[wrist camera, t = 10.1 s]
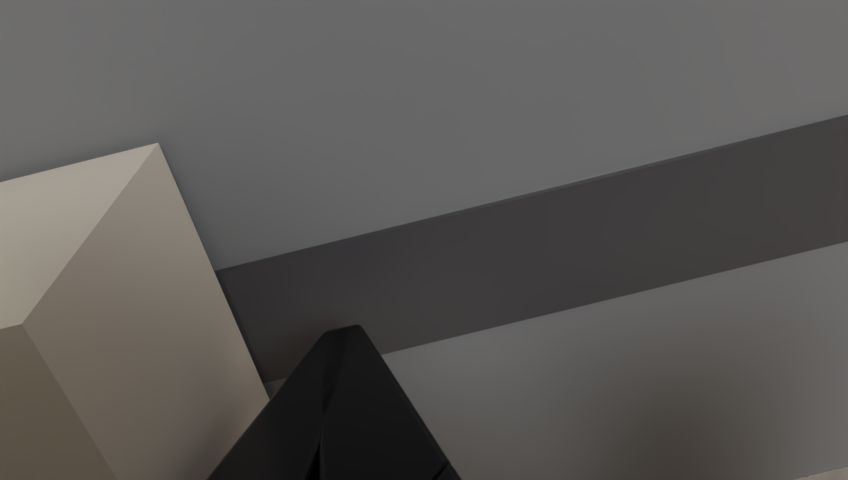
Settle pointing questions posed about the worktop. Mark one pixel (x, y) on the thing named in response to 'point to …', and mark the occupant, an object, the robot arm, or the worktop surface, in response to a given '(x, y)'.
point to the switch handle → (114, 329)
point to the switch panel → (499, 206)
